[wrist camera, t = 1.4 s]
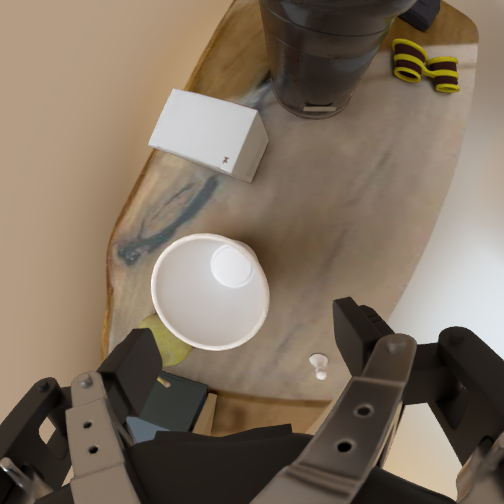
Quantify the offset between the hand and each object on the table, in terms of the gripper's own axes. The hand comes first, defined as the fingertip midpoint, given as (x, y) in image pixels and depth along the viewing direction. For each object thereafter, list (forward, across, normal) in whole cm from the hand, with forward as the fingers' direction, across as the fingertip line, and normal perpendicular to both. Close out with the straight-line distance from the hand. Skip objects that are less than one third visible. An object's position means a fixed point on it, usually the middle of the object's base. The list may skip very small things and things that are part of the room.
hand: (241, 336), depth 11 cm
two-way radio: (+17, -28, -28) cm, 43 cm away
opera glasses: (+20, -26, -19) cm, 38 cm away
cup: (+21, +2, +2) cm, 21 cm away
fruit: (+21, +12, +10) cm, 26 cm away
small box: (+22, 0, -11) cm, 24 cm away
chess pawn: (+19, -6, +16) cm, 26 cm away
